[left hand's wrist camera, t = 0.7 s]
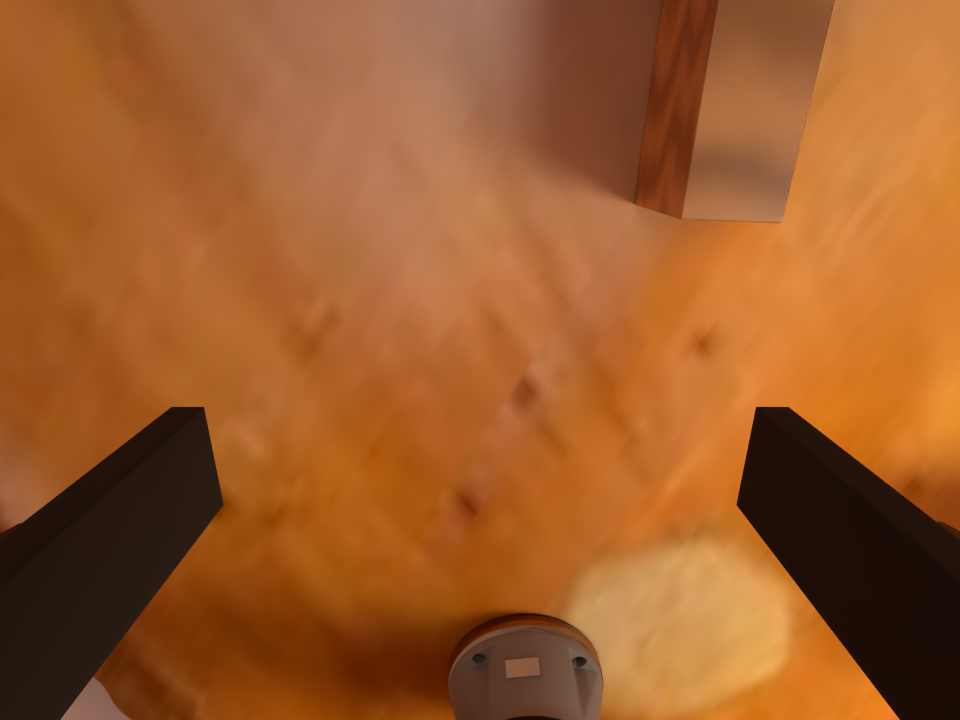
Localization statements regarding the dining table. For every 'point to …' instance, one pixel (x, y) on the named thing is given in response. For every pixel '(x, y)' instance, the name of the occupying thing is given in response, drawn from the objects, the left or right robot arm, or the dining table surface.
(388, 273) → the dining table surface
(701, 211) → the bar
